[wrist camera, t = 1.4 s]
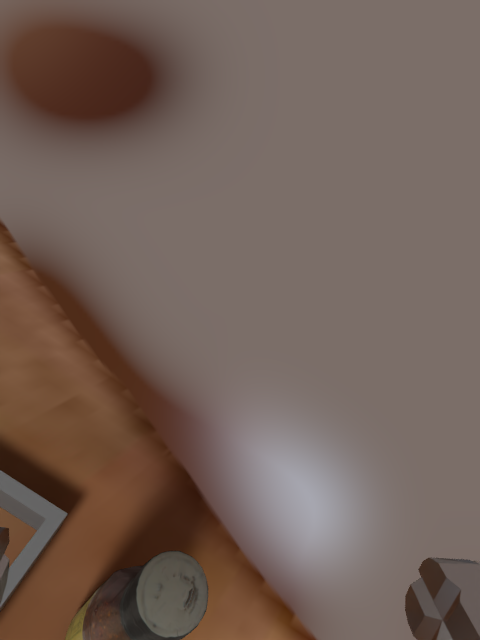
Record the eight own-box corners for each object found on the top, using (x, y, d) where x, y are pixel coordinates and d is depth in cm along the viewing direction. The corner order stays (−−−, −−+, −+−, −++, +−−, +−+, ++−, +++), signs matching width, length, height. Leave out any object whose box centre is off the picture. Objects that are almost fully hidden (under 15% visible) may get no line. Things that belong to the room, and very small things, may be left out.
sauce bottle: (151, 648, 37) (258, 612, 24) (85, 714, 33) (170, 716, 20) (111, 578, 39) (189, 509, 26) (42, 633, 35) (95, 584, 22)
